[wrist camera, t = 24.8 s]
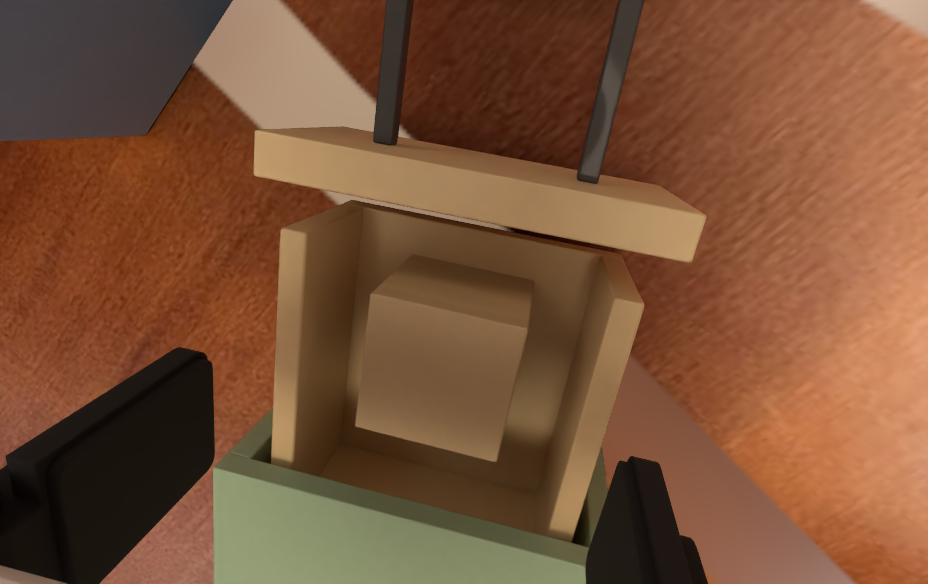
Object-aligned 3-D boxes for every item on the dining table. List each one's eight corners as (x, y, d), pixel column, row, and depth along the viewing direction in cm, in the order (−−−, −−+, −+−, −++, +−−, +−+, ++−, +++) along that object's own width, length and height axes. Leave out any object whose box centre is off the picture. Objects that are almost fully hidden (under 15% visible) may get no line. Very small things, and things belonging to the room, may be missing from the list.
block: (411, 253, 18) (369, 293, 14) (534, 280, 18) (528, 329, 14) (396, 362, 20) (353, 427, 16) (509, 389, 20) (496, 464, 15)
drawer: (357, -75, 16) (259, -170, 11) (722, -23, 15) (813, -101, 10) (317, 435, 23) (245, 531, 18) (567, 498, 22) (572, 622, 17)
